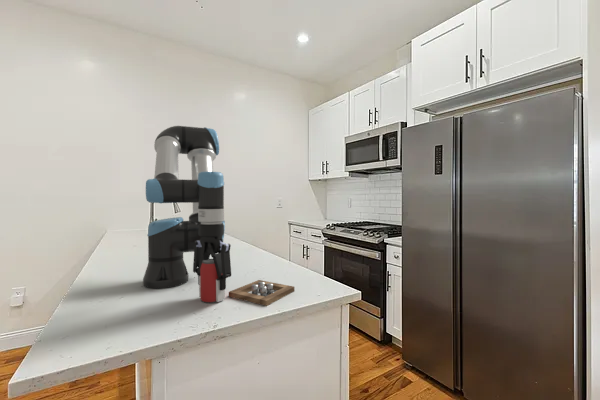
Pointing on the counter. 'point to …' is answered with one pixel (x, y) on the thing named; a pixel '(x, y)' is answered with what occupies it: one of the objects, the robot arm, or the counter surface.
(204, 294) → the beer can
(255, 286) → the peg stand
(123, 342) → the counter surface
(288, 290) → the face frame
